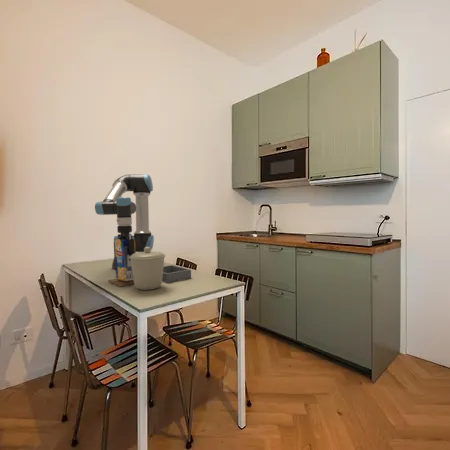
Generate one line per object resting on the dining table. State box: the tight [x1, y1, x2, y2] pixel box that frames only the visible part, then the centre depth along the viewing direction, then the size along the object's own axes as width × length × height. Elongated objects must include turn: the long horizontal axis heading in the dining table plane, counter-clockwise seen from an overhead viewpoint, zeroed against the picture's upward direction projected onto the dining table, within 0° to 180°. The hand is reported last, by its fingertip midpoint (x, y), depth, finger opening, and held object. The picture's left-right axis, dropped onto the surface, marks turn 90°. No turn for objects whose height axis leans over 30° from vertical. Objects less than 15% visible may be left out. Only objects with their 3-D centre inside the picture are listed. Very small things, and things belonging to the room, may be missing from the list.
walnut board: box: [107, 278, 135, 288], centre depth 161 cm, size 16×14×1 cm
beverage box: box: [115, 239, 137, 281], centre depth 161 cm, size 7×11×22 cm, turn 42°
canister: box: [129, 247, 167, 291], centre depth 149 cm, size 18×18×21 cm
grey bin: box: [162, 264, 192, 284], centre depth 171 cm, size 20×16×5 cm
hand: (125, 265), depth 161 cm, fingers closed on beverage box, 11 cm apart
